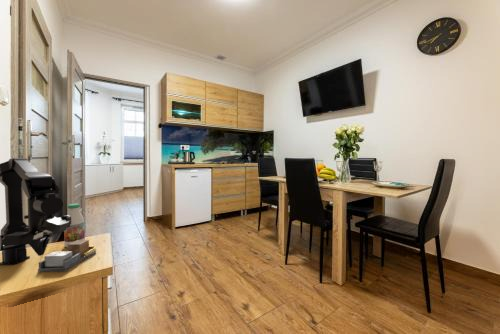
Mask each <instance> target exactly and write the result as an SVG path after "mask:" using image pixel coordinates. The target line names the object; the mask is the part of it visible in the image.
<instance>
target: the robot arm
mask: <svg viewBox="0 0 500 334" xmlns="http://www.w3.org/2000/svg"><path fill="white" fill-rule="evenodd" d="M0 184H1V185H3V187H4V194H5V195H4V197H5V198H4V199H5V219H6V220H5V221H6V222H5V224H4V225H3V226H2V228H1V229H0V252H1V255H2V256H1V258H2V259H1V260H2V261H1V262H0V266H7V265H9V266H10V265H16V264H17V265H18V264H19V263H21V262H23V261H25V260H27V259H29V258H30V257H31V256H30V255H29V256H28V254H27V253H28V252H27V246H26V245H29V246H30V247H31V248H32V249H33V251H34V252H35V254H37V256H43V255H44V254H45V251H46V250H47V247H48V244H49V241H50V240H51V238H52V237H54V236H55V235H56V234H59V233H60V232H61V233H62V232H64V231H65V230H66V229H67V228H68V227H70V224H71V216H69V215H63V216H60V217H57V216H56V214H57V213H60V211H62V210H63V208H64V202H63V200H62V199H61V198H59V197H56V195H58V194H59V195H60V191H59V190H60V188H59V186H58V184H57V182H56V179H55V178H54V177H53V176H52V175H50V174H49V173H47V172H42V171H39V170H38V169H37V168H36V166H34V165H33V164H32V163H31V160H30V159H29V158H26V157H23V158H22V157H19V158H17V157H12V158H9V159H8V160H7V161H4V162H1V163H0ZM23 192H24V194H25V195H26V198H27V215H23V214H24V211H23V210H24V209H23ZM24 219H25V220H26V219H27V223H25V222H24Z"/></svg>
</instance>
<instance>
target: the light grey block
mask: <svg viewBox="0 0 500 334" xmlns="http://www.w3.org/2000/svg"><path fill="white" fill-rule="evenodd" d="M71 257H72V251H68V250H66V251H64V250H63V251H52V252H51V253H48V254H46V255H44V260H45V267H55V266H63V262H64V261H65V260H67V259H69V258H71Z"/></svg>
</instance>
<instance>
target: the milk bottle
mask: <svg viewBox="0 0 500 334" xmlns="http://www.w3.org/2000/svg"><path fill="white" fill-rule="evenodd" d="M80 209H81V204H80V203H70V204H68V205H67V210H68V211H67V215H69V216H71V224H70V227H68V228H67V229H66V230H65V231H63V232H64V233H63V234H64V236H63V237H64V239H63V240H64V242H63V243H64V247H65V248H68V244H70V243H72V242H74V241H76V240H86V239H85V237H86V233H85V229H86V228H85V218H84V216H83V215H82V213H81V210H80Z"/></svg>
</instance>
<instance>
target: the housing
mask: <svg viewBox="0 0 500 334" xmlns="http://www.w3.org/2000/svg"><path fill="white" fill-rule="evenodd" d="M89 242H90V240H89V239H85V240H76V241H74V242H72V243H70V244H68V247H67V251H72V256H74V255H76V254H78V253H80V256H81V255H83V254H84V253H86V252H87V251H89V246H90V243H89Z"/></svg>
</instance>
